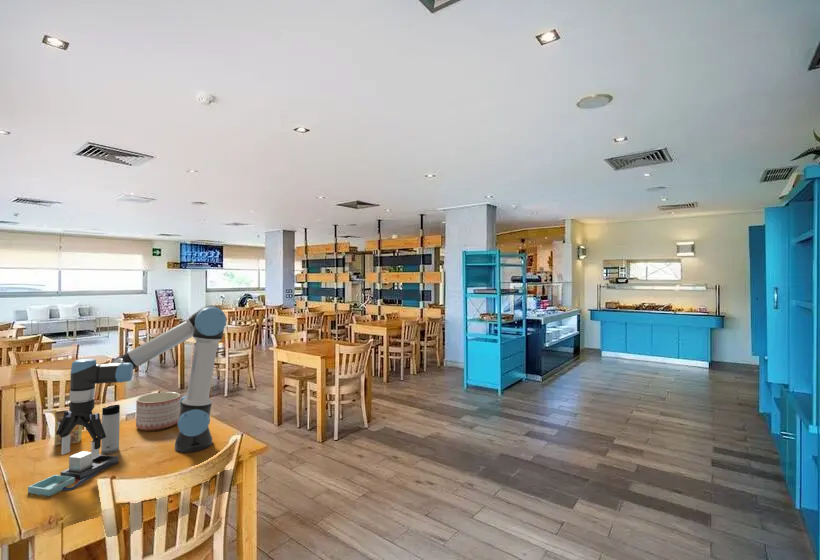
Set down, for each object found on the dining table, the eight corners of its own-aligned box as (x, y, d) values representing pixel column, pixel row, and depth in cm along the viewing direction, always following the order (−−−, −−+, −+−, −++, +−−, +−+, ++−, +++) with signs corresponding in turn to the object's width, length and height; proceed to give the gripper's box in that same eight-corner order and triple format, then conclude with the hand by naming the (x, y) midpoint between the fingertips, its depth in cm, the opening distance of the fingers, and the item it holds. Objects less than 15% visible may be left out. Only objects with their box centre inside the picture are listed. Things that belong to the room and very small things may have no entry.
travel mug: (110, 454, 174) (111, 408, 174) (97, 453, 176) (98, 406, 176) (123, 448, 180) (124, 403, 180) (110, 447, 182) (111, 402, 182)
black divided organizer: (118, 462, 167) (118, 456, 167) (80, 481, 151) (80, 474, 151) (100, 460, 169) (100, 454, 169) (60, 478, 153) (60, 472, 153)
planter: (147, 435, 196) (147, 404, 196) (128, 427, 206) (129, 397, 207) (187, 424, 212) (187, 395, 212) (168, 416, 223) (168, 389, 223)
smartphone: (101, 472, 160) (101, 469, 160) (71, 491, 145) (71, 488, 145) (82, 472, 160) (82, 469, 160) (50, 491, 145) (50, 488, 145)
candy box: (54, 445, 182) (54, 411, 182) (58, 442, 186) (58, 408, 186) (78, 442, 186) (79, 409, 186) (81, 439, 190) (82, 406, 190)
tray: (74, 484, 149) (74, 477, 149) (48, 496, 141) (49, 489, 141) (54, 481, 151) (54, 474, 151) (27, 493, 142) (28, 486, 142)
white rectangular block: (92, 473, 158) (92, 452, 158) (79, 479, 153) (80, 457, 153) (81, 471, 159) (82, 451, 159) (68, 477, 154) (69, 456, 154)
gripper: (118, 400, 158) (116, 454, 157) (65, 394, 162) (63, 447, 162) (100, 405, 150) (98, 463, 150) (45, 399, 155) (43, 455, 155)
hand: (80, 455), depth 156 cm, fingers open, 13 cm apart
